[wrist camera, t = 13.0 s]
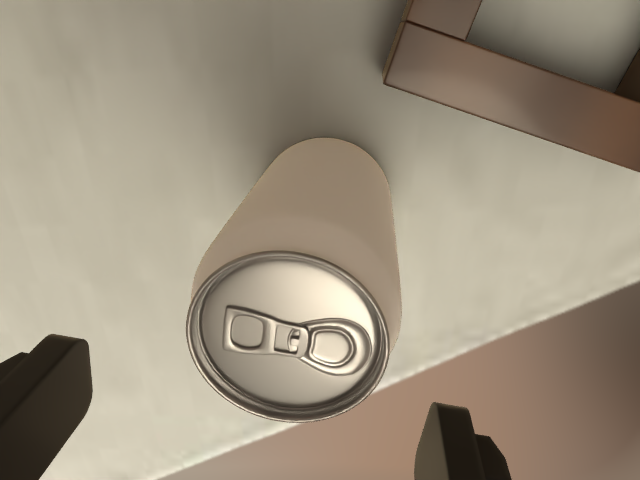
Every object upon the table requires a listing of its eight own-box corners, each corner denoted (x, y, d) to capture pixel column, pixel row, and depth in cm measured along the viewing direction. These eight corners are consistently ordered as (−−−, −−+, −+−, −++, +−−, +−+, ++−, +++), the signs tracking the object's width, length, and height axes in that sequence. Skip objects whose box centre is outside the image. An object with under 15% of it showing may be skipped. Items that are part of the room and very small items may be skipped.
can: (377, 267, 25) (379, 452, 14) (256, 246, 25) (168, 411, 14) (404, 147, 22) (433, 261, 12) (268, 124, 23) (171, 215, 12)
